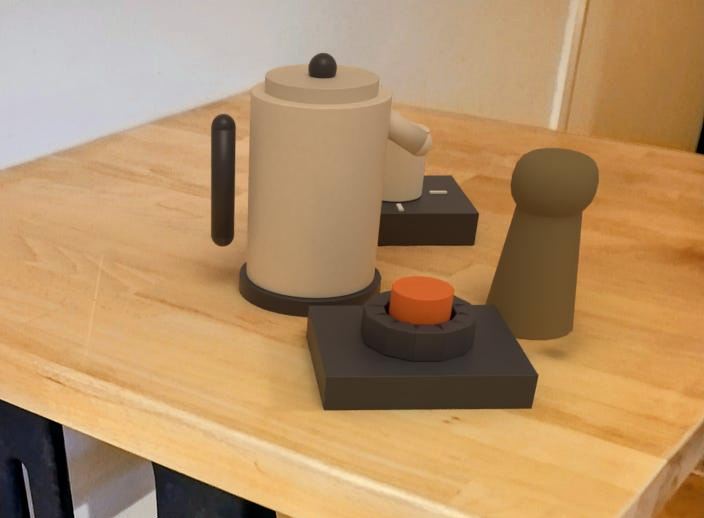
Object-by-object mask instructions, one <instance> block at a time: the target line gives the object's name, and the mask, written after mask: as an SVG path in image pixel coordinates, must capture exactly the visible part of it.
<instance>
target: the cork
mask: <svg viewBox="0 0 704 518" xmlns="http://www.w3.org/2000/svg"><path fill="white" fill-rule="evenodd" d="M599 181H600V170H599V167H598V164H597V162H596V161H595V160H594V158H592V157H590V155H588V154H586V153H584V152H582V151H577V150H574V149H570V148H569V149H568V148H563V147H561V148H560V147H545V148H537V149H532V150H529V151H528V152H526V153H524V154H522V155H521V157H520V158H519V159H518V160H517V162H516V163H515V166H514V169H513V171H512V174H511V178H510V195H511V197H512V200H513V201H514V203H515V207H514V208H515V209H514V211H513V213H512V217H511V221H510V224H509V226H508V230H507V233H506V237H505V240H504V243H503V246H502V250H501V252H500V256H499V258H498V263H497V265H496V268H495V272H494V276H493V279H492V282H491V285H490V289H489V292H488V294H487V297H486V301H485V304H484V305H495V306H496V308H497V309H498V311H499V312H500V314H501V316H502V317H503V319H504V320H505V322H506V324H507V325H508V327H509V329H510V330H511V332H512V333H513V335H514V337H515V338H516V340H517V339H518V340H526V341H551V340H558V339H560V338H563V337H567V336H568V335H569V334H570V333H571V332H573V330H574V320H575V307H576V297H577V296H576V295H577V282H578V271H579V261H580V260H579V258H580V247H581V235H582V223H583V213H584V211H585V210H586V209H587V208H588V207H589V206H590V205H591V204H592V203H593V201H594V199H595V196H596V194H597V191H598V187H599Z"/></svg>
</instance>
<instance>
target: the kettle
mask: <svg viewBox="0 0 704 518" xmlns="http://www.w3.org/2000/svg"><path fill="white" fill-rule="evenodd" d="M249 96H250V99H249V103H250V104H249V141H248V143H249V144H248V145H249V146H248V181H247V182H248V186H247V226H246V227H247V232H246V233H247V234H246V261H245V262H244V263H243V264H242V265H241V267H240V269H239V271H238V273H239V275H238V291H239V294H240V295H241V297H242V298H243V299H244V300H245V301H247V302H248V303H249V304H251V305H253V306H255V307H257V308H259V309H262V310H264V311H267V312H271V313H275V314H279V315H283V316H284V315H285V316H290V317H296V318H297V317H298V318H308V306H356V305H363V304H364V303H365V302H366V301H367V300H368V299H370V298H371V297H372V296H373V295H375V294H378V293H381V284H382V274H381V272H380V270H379V269H378V268H377V267H376V263H377V262H376V261H377V254H378V253H377V252H378V245H377V244H378V234H379V224H380V214H381V204H382V194H383V184H384V174H385V164H386V154H387V144H388V139H390V140H391V141H393V142H394V143H396V144H397V145H399V146H400V147H402V148H403V149H405V150H407V151H408V152H410V153H411V154H413V155H415V156H424V155H426V154H427V155H428V154H429V153H430V152H431V150H432V148H433V145H434V144H433V143H434V141H433V137H432V135H431V134H430V132H429V133H428V132H426V131H425V130H423V129H422V128H420V127H419V126H417V125H416V124H414V123H413V122H414V121H412V120H410V119H408V118H407V117H405V116H404V115H402V114H401V113H399V112H397V111H396V110H395V109H393V108H392V102H393V92H392V90H391V89H389V88H387V87H386V86H384V85H381V84H380V76H379V75H378V74H377V73H376V72H374V71H371V70H368V69H365V68H361V67H356V66H350V65H341V64H337V61H336V59H335V58H334V57H333V56H332V55H331V54H330V53H327V52H319V53H317V54H315V55H314V56H313V57H312V58H311V59H310V61H309V63H303V64H302V63H301V64H300V63H299V64H290V65H284V66H279V67H275V68H272V69H269V70H268V71H266V73H264V80H263V81H261V82H258V83H256V84H254V85H253V86H252V87H250V95H249ZM236 136H237V124H236V121H235V120H234V118H233V117H232V116H231V115H229V114H227V113H220V114H217V115H216V116H215V117H213V119H212V121H211V124H210V238H211V240H212V242H213V243H214V244H215V245H216V246H218V247H220V248H223V247H227V246H230V245H231V244H232V242H233V241H234V239H235V213H236V211H235V209H236V207H235V205H236V150H237V149H236V148H237V146H236V144H237V143H236V142H237V141H236V140H237V137H236ZM427 155H426V156H427Z"/></svg>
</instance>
